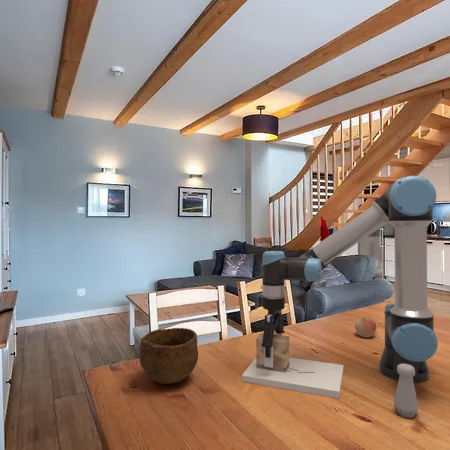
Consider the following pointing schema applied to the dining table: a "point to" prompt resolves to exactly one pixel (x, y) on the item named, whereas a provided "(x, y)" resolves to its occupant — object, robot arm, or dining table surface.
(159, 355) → the bowl
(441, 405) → the dining table surface
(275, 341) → the block
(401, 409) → the salt shaker
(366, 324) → the apple
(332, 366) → the board
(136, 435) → the dining table surface
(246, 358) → the dining table surface
